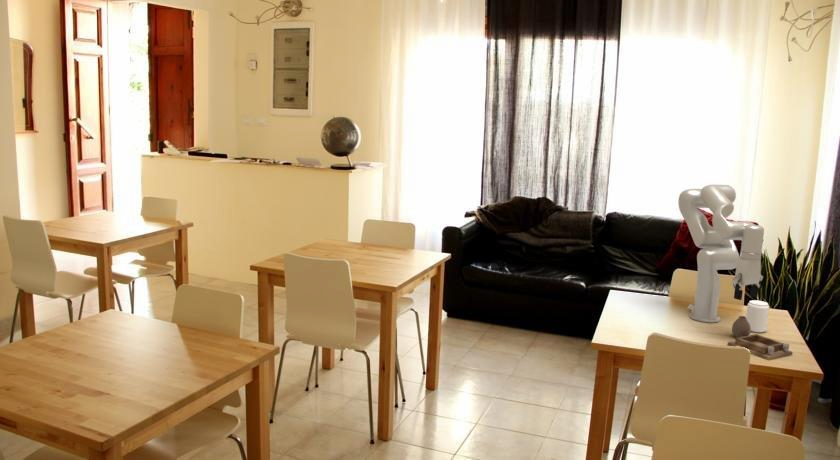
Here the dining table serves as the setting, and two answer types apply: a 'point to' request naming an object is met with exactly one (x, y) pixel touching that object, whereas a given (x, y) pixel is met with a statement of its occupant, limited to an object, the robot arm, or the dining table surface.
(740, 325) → the vase
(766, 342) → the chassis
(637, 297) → the dining table surface
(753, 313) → the beverage can
